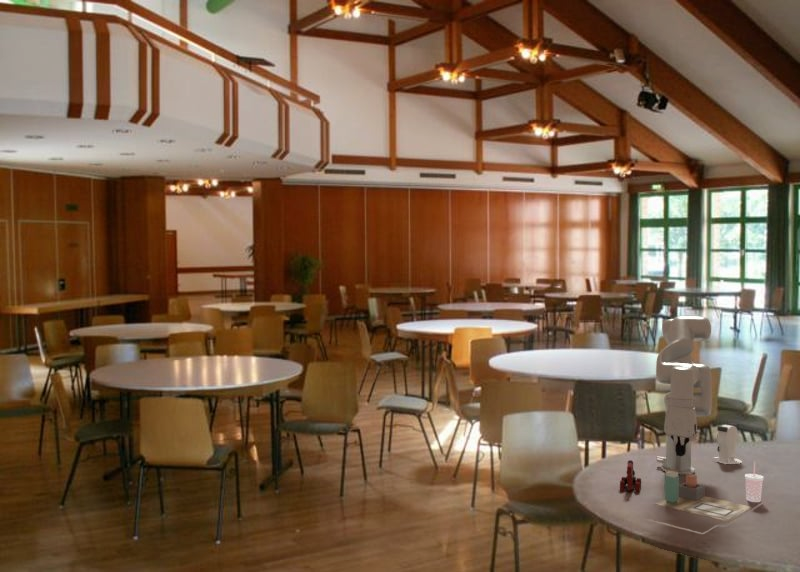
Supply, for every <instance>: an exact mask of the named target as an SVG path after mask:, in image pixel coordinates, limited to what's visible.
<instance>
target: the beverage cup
mask: <svg viewBox="0 0 800 572" xmlns="http://www.w3.org/2000/svg"><path fill="white" fill-rule="evenodd" d="M764 477H765V476H763V475H760V474H757V473H756V461H753V473H745V474H744V479H745V499H746V500H747V501H748V502H752V503H760V502H761V499H762V492H763V482H764Z"/></svg>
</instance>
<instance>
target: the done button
mask: <svg viewBox="0 0 800 572" xmlns="http://www.w3.org/2000/svg"><path fill="white" fill-rule="evenodd" d="M697 476H698V475H697V474H694V473H693V474H687V475H685V482H686V487H691V488H696V487H697V484H698V477H697Z"/></svg>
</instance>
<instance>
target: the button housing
mask: <svg viewBox="0 0 800 572" xmlns="http://www.w3.org/2000/svg"><path fill="white" fill-rule="evenodd" d="M705 496H706V485H704V484H700V483H699V484H698V483H697V487H696V488H691V487H686V481H684V482H682V483H679V497H680V498H684V499H688V500H693V501H698V500H700V499H702V498H704V497H705Z"/></svg>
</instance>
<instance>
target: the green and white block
mask: <svg viewBox="0 0 800 572" xmlns="http://www.w3.org/2000/svg"><path fill="white" fill-rule="evenodd" d="M679 485H680V475H678V472H674V471H668V472H665V476H664V499H665V500H666V503H669V504H675V503H677V500H679Z"/></svg>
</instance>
